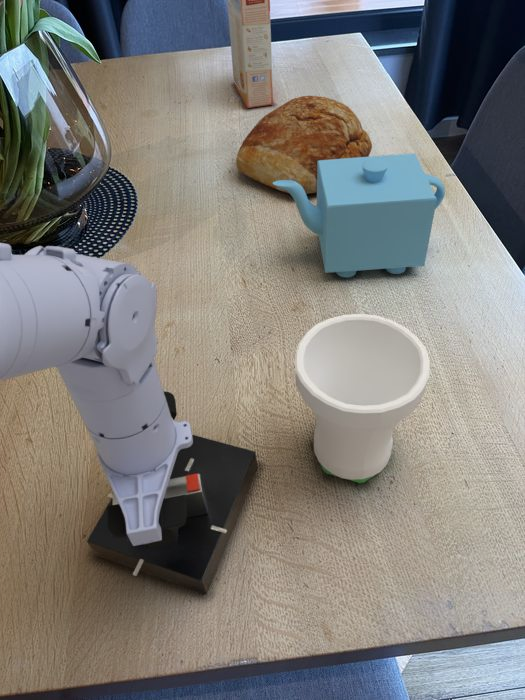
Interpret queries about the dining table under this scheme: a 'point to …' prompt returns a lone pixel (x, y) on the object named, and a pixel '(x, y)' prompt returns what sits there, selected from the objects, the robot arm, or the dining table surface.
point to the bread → (301, 141)
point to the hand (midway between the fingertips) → (161, 500)
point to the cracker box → (251, 50)
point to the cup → (359, 389)
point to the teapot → (370, 212)
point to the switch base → (190, 518)
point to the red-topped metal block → (186, 493)
